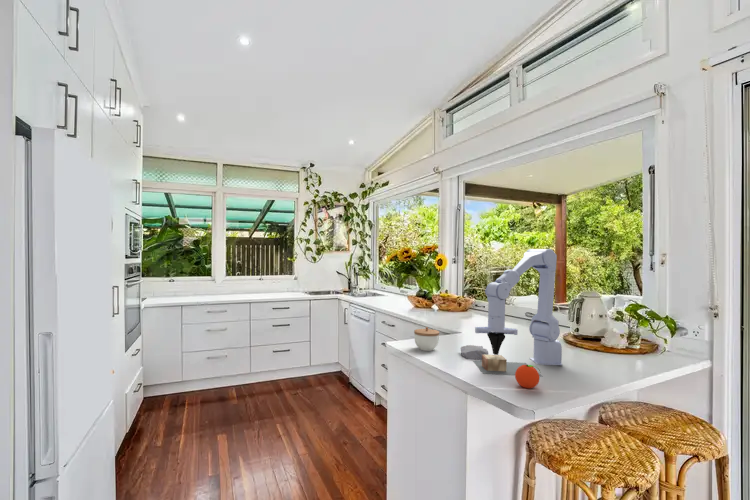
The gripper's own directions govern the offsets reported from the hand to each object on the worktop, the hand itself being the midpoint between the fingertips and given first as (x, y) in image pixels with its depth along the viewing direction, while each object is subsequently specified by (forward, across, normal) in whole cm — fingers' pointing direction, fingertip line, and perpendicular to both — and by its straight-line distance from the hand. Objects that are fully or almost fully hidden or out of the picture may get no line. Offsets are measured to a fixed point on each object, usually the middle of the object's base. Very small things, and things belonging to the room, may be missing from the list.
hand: (495, 354), depth 131 cm
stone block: (+6, +4, -17) cm, 18 cm away
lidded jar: (+6, +22, -25) cm, 34 cm away
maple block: (+3, -3, 0) cm, 4 cm away
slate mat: (+5, -4, -1) cm, 7 cm away
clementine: (+6, -5, +18) cm, 20 cm away
